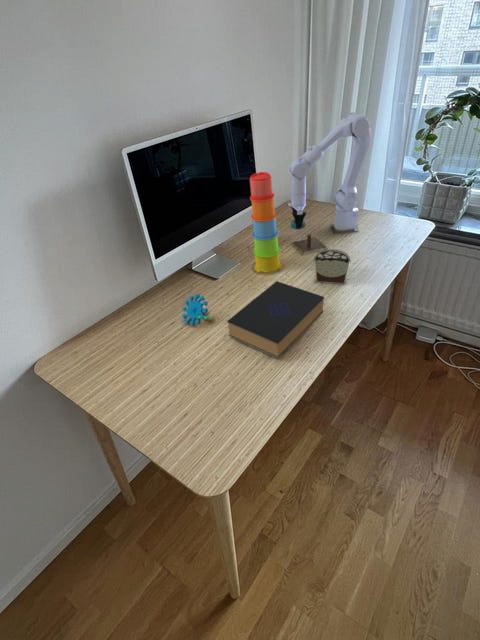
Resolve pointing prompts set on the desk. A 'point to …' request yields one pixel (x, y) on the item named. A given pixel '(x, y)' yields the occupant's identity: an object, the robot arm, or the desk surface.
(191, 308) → the blue knobbed toy
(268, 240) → the stacking cups
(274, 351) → the book
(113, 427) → the desk surface
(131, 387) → the desk surface
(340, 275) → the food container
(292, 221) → the ring
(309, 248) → the ring toss
